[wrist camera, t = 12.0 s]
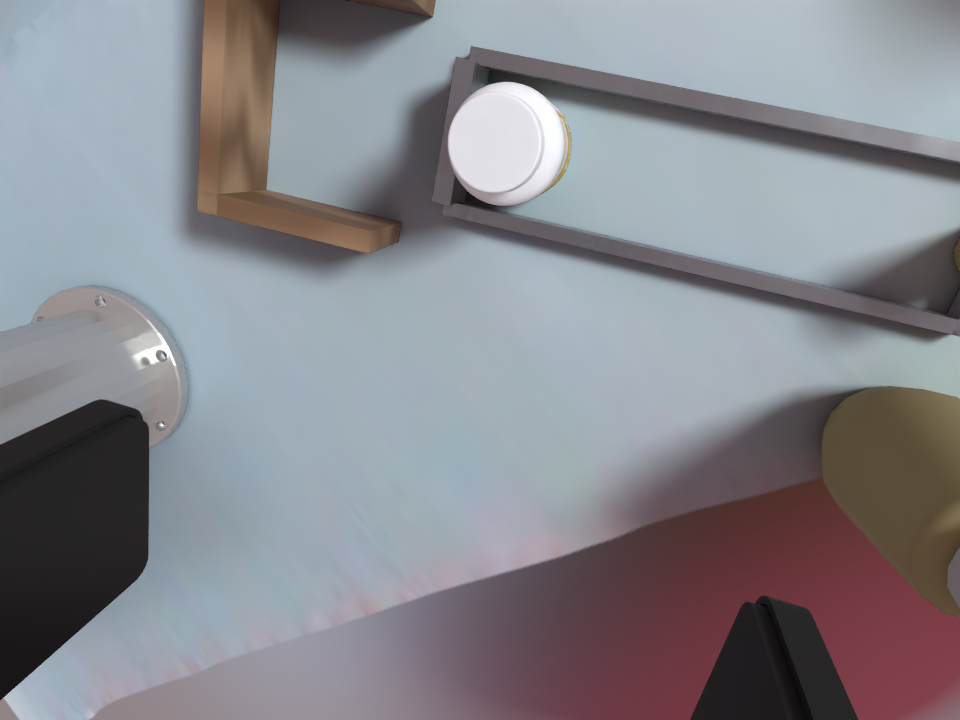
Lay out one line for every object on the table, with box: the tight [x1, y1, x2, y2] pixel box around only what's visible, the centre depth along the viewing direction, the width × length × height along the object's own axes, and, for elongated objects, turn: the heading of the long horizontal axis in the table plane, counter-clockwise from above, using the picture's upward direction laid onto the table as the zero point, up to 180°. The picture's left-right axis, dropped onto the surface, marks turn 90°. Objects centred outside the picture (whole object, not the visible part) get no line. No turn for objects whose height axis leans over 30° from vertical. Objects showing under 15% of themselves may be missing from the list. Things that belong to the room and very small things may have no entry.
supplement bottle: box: [448, 82, 572, 206], centre depth 29 cm, size 5×5×10 cm
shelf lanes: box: [197, 0, 435, 253], centre depth 32 cm, size 21×10×5 cm, turn 169°
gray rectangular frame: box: [432, 46, 960, 336], centre depth 29 cm, size 9×30×7 cm, turn 79°
